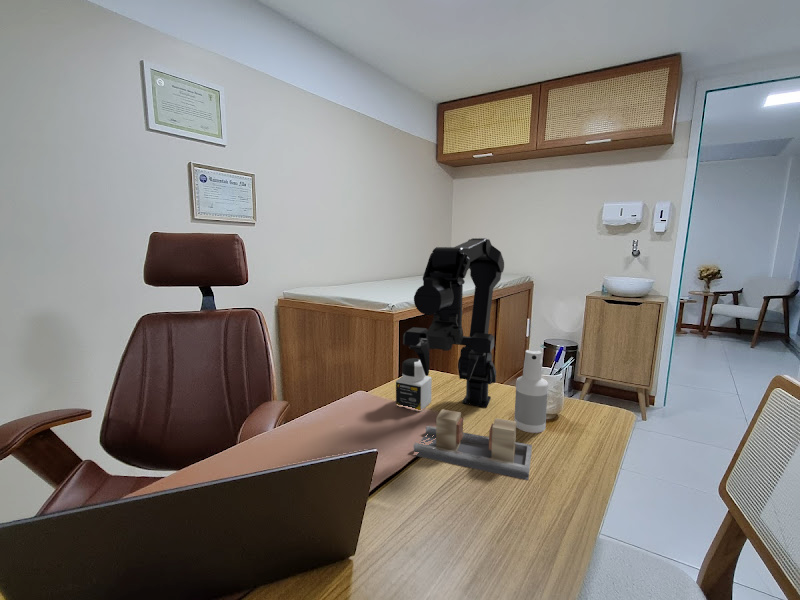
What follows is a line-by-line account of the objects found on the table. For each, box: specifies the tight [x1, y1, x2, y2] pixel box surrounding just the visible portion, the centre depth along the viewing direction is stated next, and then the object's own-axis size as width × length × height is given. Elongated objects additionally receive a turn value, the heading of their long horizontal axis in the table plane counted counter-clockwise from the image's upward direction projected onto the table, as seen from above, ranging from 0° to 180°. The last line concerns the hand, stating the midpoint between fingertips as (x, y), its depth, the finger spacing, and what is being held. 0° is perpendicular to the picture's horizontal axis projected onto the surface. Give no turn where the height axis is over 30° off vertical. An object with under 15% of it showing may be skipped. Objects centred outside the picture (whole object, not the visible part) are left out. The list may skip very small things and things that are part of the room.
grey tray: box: [413, 425, 533, 477], centre depth 76 cm, size 9×22×2 cm, turn 68°
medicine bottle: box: [395, 357, 433, 410], centre depth 99 cm, size 7×7×12 cm
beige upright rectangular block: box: [488, 417, 517, 463], centre depth 74 cm, size 4×5×7 cm
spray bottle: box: [513, 349, 549, 434], centre depth 86 cm, size 7×7×18 cm
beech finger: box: [435, 408, 464, 451], centre depth 78 cm, size 5×4×7 cm
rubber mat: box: [415, 433, 530, 481], centre depth 76 cm, size 11×22×1 cm, turn 68°
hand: (447, 378), depth 83 cm, fingers open, 9 cm apart
